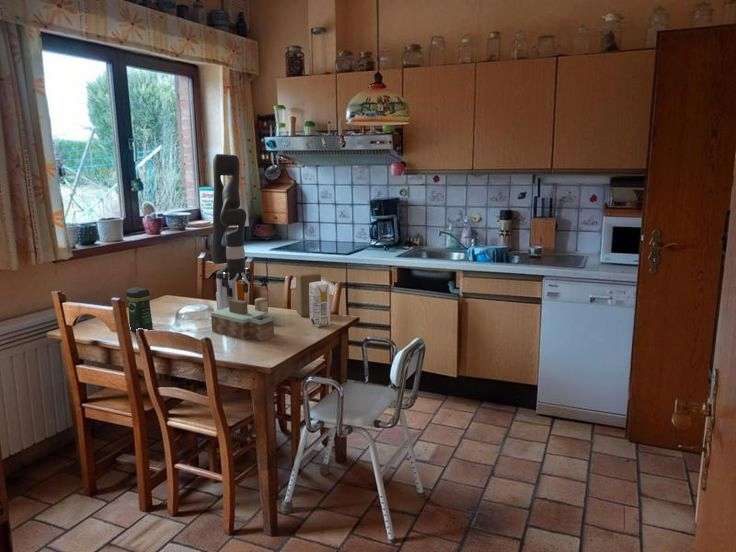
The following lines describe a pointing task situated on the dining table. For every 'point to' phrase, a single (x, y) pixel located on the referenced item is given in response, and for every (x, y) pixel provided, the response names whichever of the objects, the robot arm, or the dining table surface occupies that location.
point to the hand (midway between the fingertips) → (238, 294)
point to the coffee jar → (139, 308)
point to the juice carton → (319, 304)
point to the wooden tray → (243, 329)
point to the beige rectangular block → (261, 305)
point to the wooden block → (304, 290)
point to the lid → (241, 313)
